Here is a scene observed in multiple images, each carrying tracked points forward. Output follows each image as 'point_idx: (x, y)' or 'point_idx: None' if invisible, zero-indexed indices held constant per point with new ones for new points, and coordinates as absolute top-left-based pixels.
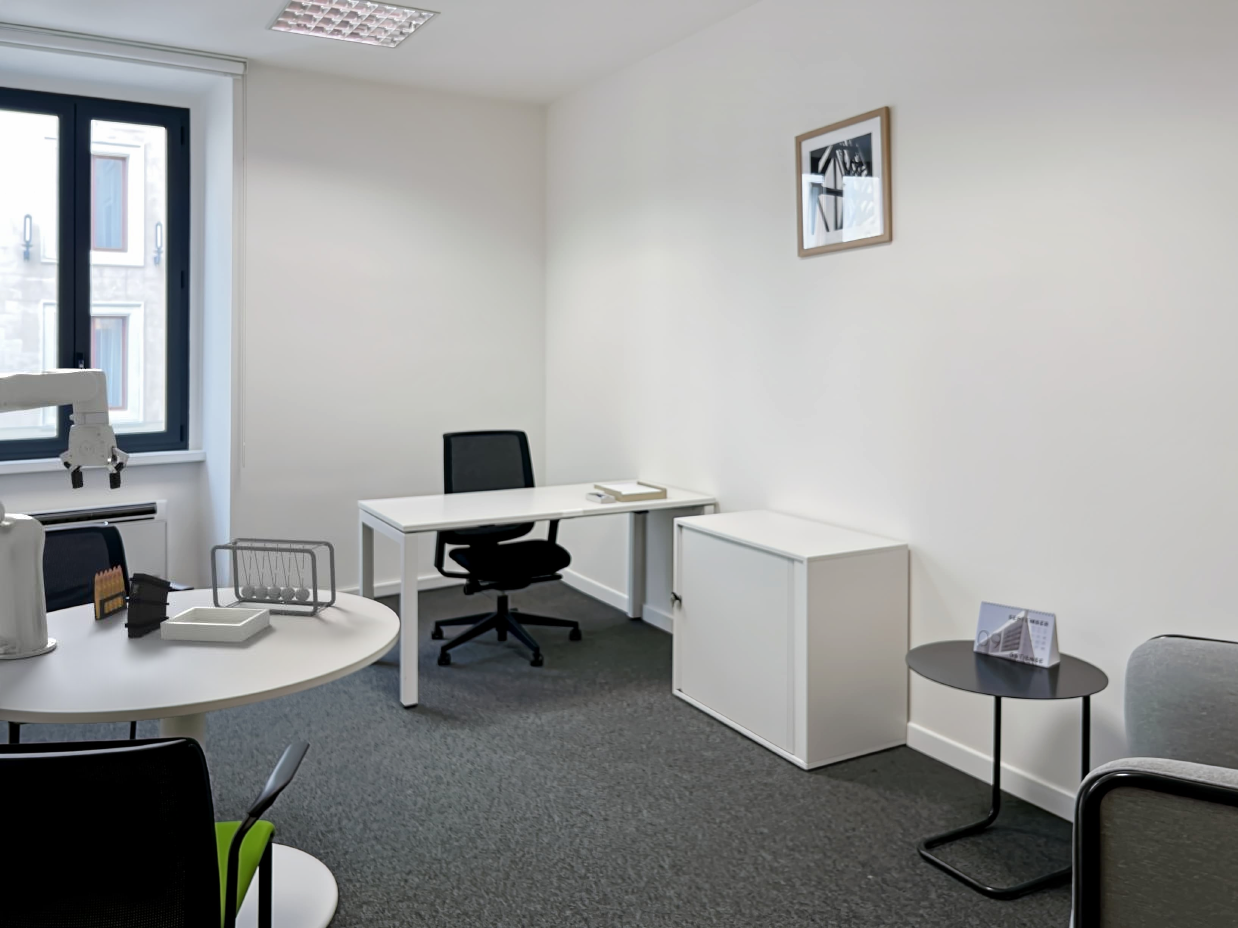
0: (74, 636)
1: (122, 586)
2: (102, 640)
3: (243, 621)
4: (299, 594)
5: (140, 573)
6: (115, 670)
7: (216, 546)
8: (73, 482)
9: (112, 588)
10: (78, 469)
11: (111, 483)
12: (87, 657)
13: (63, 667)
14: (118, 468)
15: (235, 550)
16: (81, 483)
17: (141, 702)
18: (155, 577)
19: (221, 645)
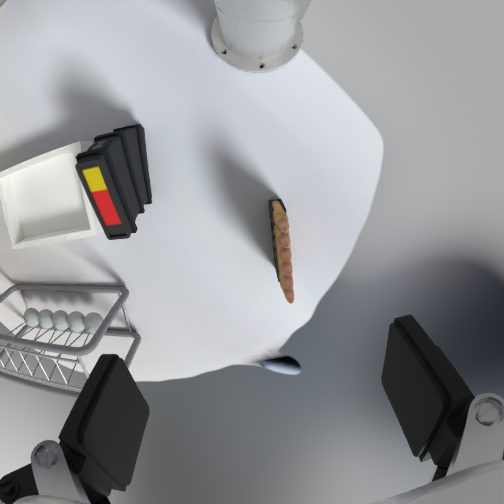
0: (237, 108)
1: (279, 279)
2: (173, 104)
3: (2, 191)
4: (27, 310)
5: (83, 162)
6: (71, 29)
7: (76, 349)
8: (420, 341)
9: (278, 254)
10: (440, 459)
11: (93, 377)
12: (136, 41)
13: (139, 6)
14: (29, 470)
15: None
16: (391, 386)
17: (11, 4)
18: (88, 197)
19: (18, 151)
